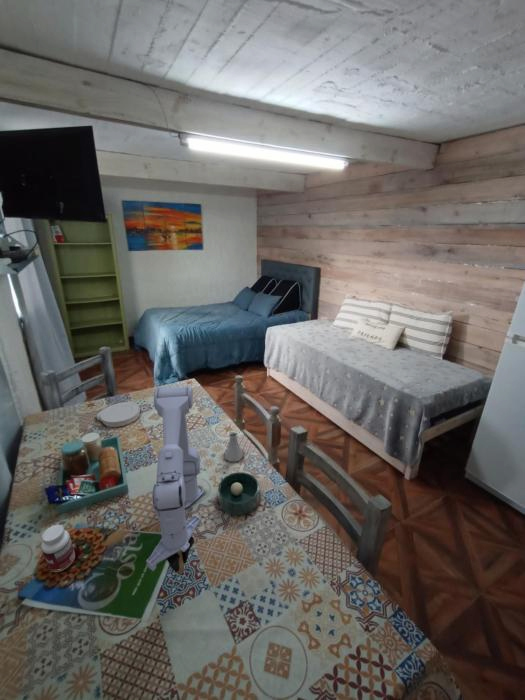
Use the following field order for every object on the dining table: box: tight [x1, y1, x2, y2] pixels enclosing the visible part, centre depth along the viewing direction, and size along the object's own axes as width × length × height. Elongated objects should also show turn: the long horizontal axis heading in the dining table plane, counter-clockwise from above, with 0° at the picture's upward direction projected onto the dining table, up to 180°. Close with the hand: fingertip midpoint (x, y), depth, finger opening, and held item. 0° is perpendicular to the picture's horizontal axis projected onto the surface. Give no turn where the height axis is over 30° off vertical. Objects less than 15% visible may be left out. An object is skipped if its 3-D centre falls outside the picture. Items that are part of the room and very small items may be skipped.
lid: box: [96, 401, 141, 428], centre depth 149 cm, size 17×20×3 cm
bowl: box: [217, 471, 260, 517], centre depth 104 cm, size 13×13×5 cm
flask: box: [224, 431, 244, 463], centre depth 122 cm, size 7×7×10 cm
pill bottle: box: [41, 524, 76, 573], centre depth 83 cm, size 6×6×11 cm
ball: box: [231, 482, 243, 496], centre depth 105 cm, size 4×4×4 cm
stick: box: [176, 551, 185, 575], centre depth 76 cm, size 2×2×8 cm
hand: (178, 564), depth 77 cm, fingers closed on stick, 2 cm apart
